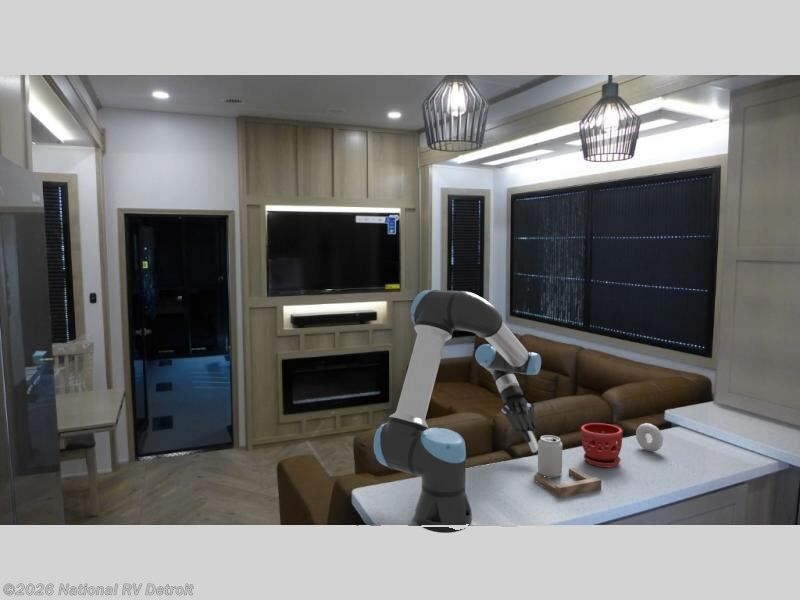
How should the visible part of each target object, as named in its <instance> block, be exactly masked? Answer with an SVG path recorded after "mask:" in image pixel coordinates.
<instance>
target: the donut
mask: <svg viewBox="0 0 800 600" xmlns="http://www.w3.org/2000/svg"><path fill="white" fill-rule="evenodd" d="M647 434H649V435H650V436H651V438H652V440H651V441H649V440H648V438H647ZM635 436H636V437H635V438H636V441H637V443H638V444H639V446H640V447H641V448H642V449H643V450H645V451H647V452H653V453H654V452H658V450H660V449H661V448H662V446H663V443H664V437H663V434H662V432H661V431H660V429H659V428H658V427H657V426H656V425H653V424H652V423H647V422H645V423H642V424H640V425H639V426H638V427H637V429H636V431H635Z"/></svg>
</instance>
